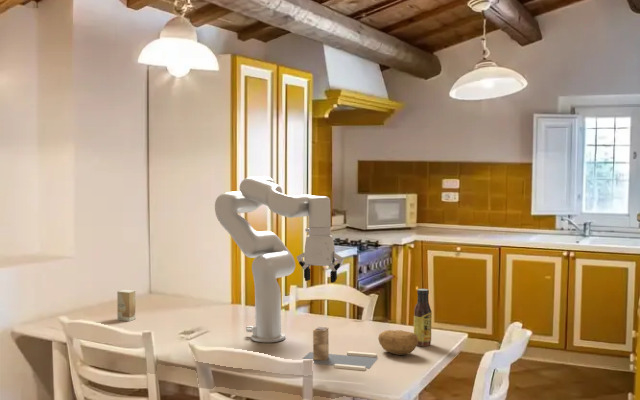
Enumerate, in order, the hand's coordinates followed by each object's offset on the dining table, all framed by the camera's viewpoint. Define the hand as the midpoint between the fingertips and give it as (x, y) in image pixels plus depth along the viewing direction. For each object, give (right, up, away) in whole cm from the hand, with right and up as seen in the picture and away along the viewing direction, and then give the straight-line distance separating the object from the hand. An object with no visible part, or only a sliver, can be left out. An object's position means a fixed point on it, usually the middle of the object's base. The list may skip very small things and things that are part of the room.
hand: (320, 281), depth 243 cm
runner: (+6, -25, -12) cm, 28 cm away
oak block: (0, -25, -10) cm, 26 cm away
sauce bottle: (+36, -24, +8) cm, 44 cm away
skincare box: (-80, -22, +49) cm, 97 cm away
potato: (+26, -25, -4) cm, 36 cm away
